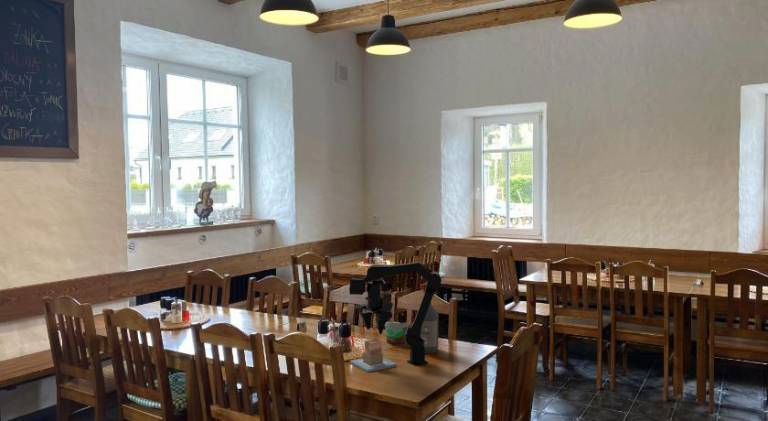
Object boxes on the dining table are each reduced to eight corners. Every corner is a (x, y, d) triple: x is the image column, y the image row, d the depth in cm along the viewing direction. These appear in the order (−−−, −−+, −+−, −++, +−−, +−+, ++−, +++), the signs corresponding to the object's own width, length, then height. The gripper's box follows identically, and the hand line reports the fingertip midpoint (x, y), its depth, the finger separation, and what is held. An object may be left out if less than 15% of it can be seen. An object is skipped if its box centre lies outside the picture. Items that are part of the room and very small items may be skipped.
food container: (379, 342, 283) (379, 321, 283) (385, 339, 289) (385, 319, 288) (402, 346, 278) (402, 324, 277) (408, 343, 283) (408, 321, 282)
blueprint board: (396, 366, 249) (396, 354, 249) (367, 372, 242) (367, 360, 241) (378, 357, 261) (378, 346, 261) (350, 363, 253) (349, 351, 253)
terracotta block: (381, 353, 250) (381, 341, 250) (371, 355, 248) (371, 343, 247) (374, 350, 254) (374, 338, 254) (364, 352, 252) (364, 340, 251)
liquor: (436, 353, 266) (436, 286, 264) (415, 352, 268) (415, 285, 266) (438, 347, 275) (438, 282, 273) (418, 346, 277) (418, 281, 275)
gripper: (402, 296, 250) (403, 333, 251) (377, 289, 265) (378, 324, 266) (380, 299, 244) (380, 337, 245) (356, 292, 259) (356, 328, 260)
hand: (374, 331), depth 254 cm, fingers open, 9 cm apart
